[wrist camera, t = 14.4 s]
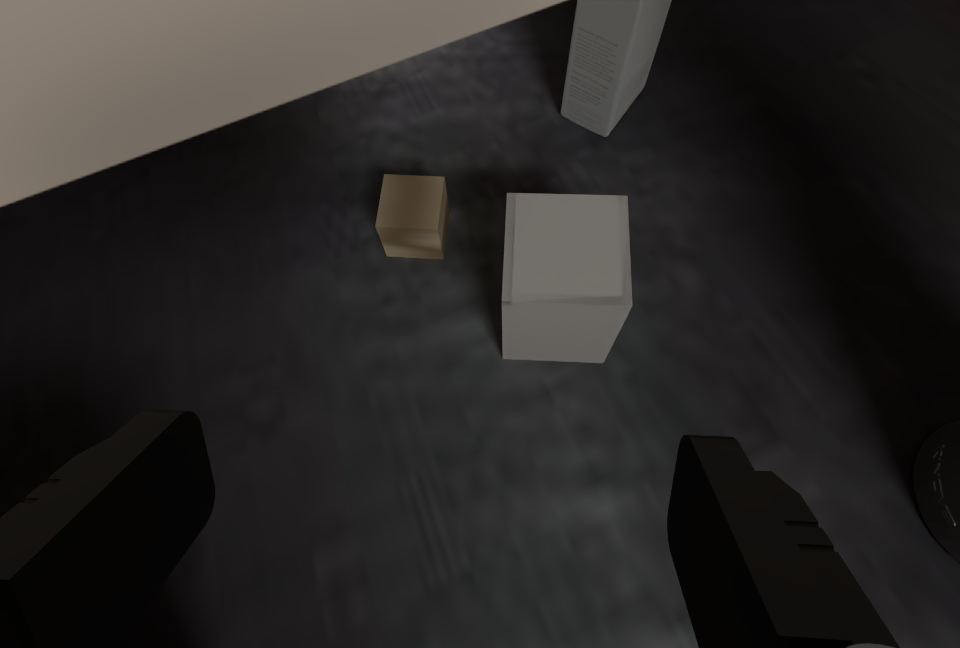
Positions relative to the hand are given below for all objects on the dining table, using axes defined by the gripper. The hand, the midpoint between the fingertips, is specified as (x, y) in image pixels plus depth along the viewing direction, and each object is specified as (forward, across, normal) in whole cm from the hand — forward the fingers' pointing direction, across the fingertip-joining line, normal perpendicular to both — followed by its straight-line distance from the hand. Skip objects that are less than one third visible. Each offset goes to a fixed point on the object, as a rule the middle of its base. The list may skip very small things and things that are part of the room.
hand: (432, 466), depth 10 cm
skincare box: (+40, -7, -4) cm, 41 cm away
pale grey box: (+27, -4, +8) cm, 29 cm away
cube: (+32, +6, +4) cm, 33 cm away
